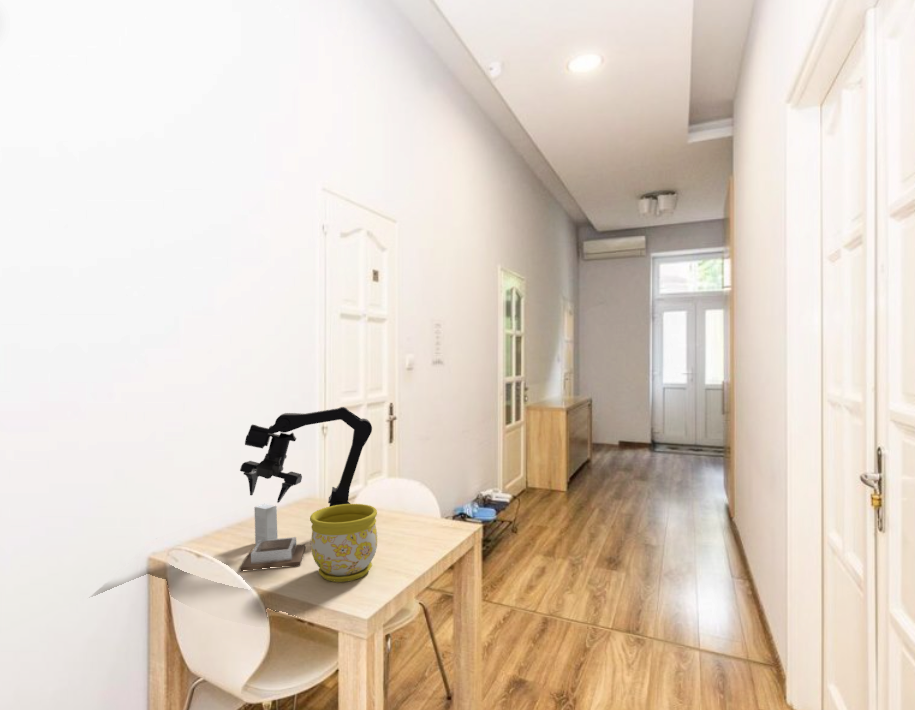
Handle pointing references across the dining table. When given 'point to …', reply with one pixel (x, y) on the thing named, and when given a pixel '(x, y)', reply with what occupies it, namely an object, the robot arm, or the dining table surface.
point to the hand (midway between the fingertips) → (264, 498)
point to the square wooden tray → (294, 562)
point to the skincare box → (265, 522)
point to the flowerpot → (344, 541)
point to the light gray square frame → (277, 554)
